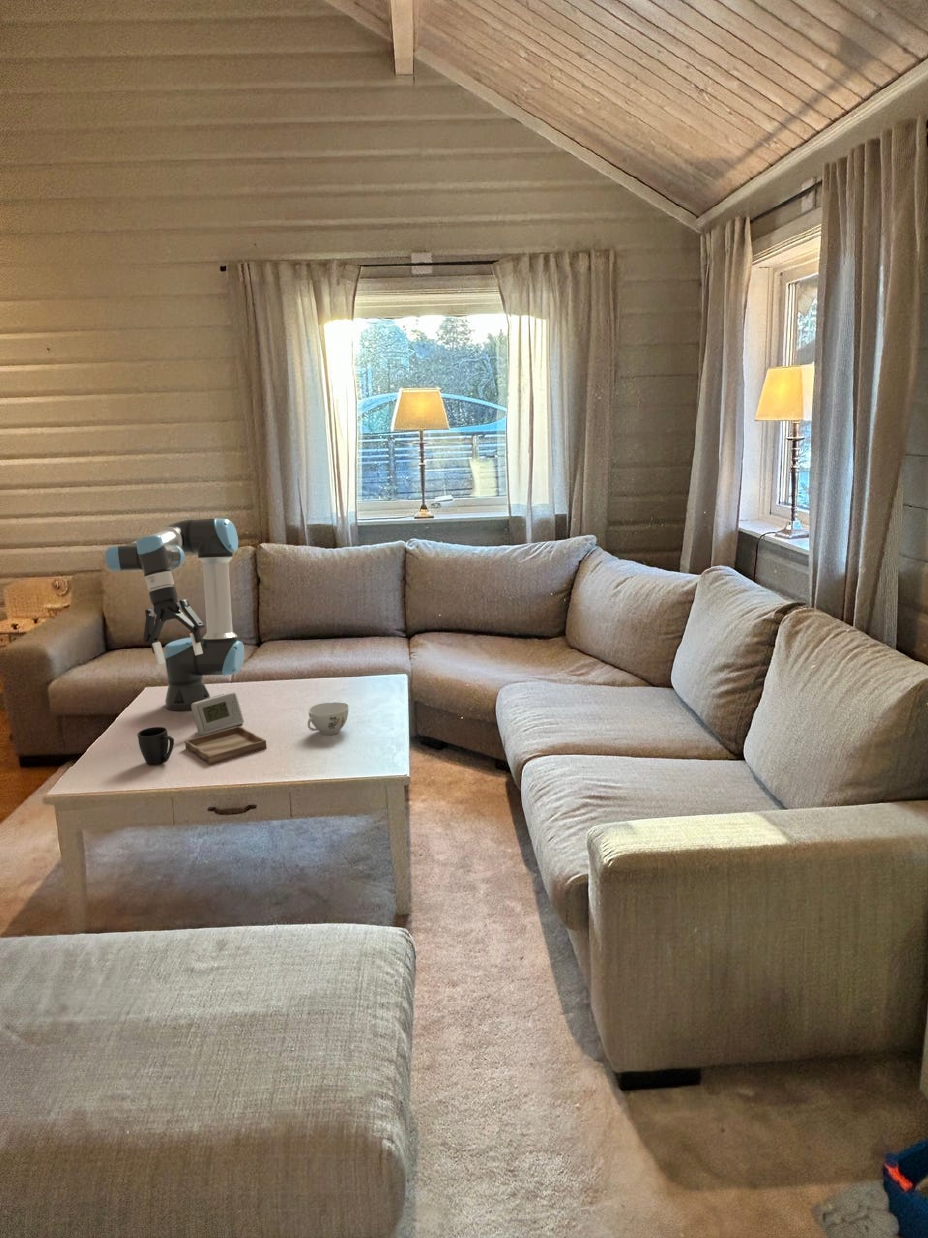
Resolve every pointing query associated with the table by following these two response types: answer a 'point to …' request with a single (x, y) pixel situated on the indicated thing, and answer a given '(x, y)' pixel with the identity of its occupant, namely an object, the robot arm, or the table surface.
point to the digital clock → (217, 713)
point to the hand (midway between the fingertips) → (180, 659)
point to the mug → (155, 745)
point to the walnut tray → (225, 745)
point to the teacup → (328, 717)
